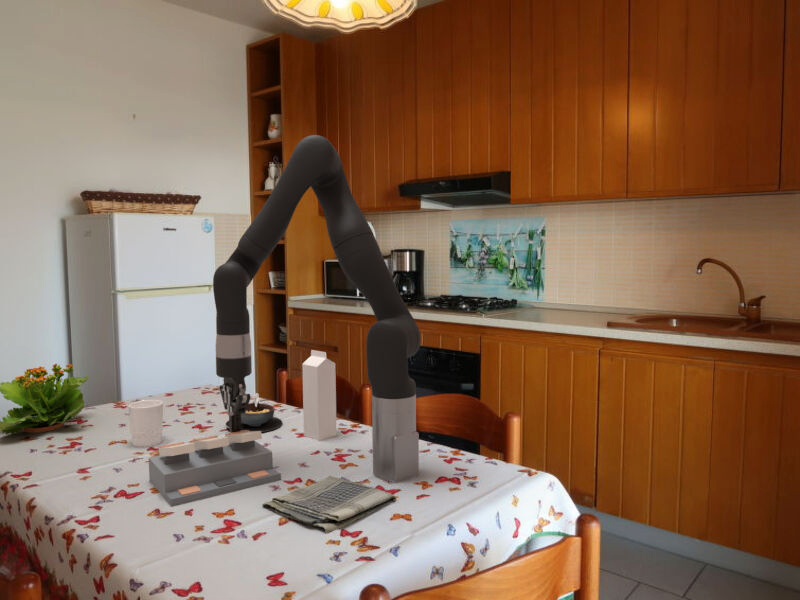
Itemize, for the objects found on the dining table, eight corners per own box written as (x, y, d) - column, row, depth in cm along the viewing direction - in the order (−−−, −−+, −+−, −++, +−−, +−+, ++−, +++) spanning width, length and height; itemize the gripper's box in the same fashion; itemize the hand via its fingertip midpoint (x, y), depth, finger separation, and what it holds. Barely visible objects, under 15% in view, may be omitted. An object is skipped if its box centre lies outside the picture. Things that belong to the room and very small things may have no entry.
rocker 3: (262, 438, 129) (260, 429, 129) (241, 442, 126) (240, 433, 127) (244, 438, 137) (243, 430, 137) (225, 442, 134) (224, 433, 135)
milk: (318, 441, 152) (316, 354, 150) (303, 436, 157) (301, 351, 155) (337, 435, 157) (335, 350, 155) (321, 431, 161) (319, 348, 159)
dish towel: (331, 482, 127) (331, 467, 127) (398, 504, 116) (397, 488, 115) (258, 512, 113) (258, 495, 112) (326, 541, 101) (325, 522, 101)
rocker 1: (195, 451, 121) (193, 441, 121) (172, 456, 118) (170, 446, 119) (181, 451, 129) (180, 442, 129) (159, 455, 126) (158, 446, 127)
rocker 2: (229, 445, 125) (228, 435, 125) (208, 449, 122) (207, 439, 123) (213, 444, 133) (212, 435, 133) (193, 448, 130) (192, 439, 131)
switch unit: (280, 480, 127) (280, 450, 126) (171, 507, 114) (169, 474, 113) (250, 459, 140) (250, 432, 139) (149, 481, 127) (148, 451, 126)
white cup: (170, 438, 156) (168, 400, 155) (154, 448, 148) (153, 408, 147) (140, 438, 156) (138, 399, 156) (123, 448, 149) (121, 407, 148)
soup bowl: (214, 433, 161) (213, 405, 160) (246, 417, 176) (245, 392, 175) (265, 438, 156) (264, 409, 156) (293, 421, 172) (293, 395, 171)
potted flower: (-13, 425, 169) (-17, 363, 168) (81, 410, 184) (78, 353, 183) (0, 447, 150) (-4, 376, 149) (104, 428, 165) (101, 364, 164)
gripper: (262, 356, 131) (263, 435, 133) (239, 347, 142) (240, 421, 143) (227, 360, 127) (229, 442, 128) (206, 351, 137) (208, 426, 139)
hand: (235, 430), depth 136 cm, fingers closed
